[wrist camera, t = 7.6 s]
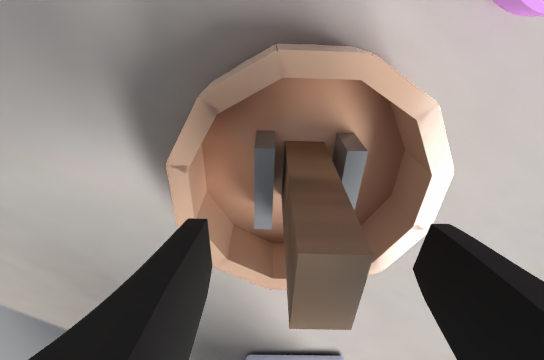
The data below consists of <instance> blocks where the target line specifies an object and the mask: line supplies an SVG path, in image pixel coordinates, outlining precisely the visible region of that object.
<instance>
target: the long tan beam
mask: <svg viewBox="0 0 544 360" xmlns="http://www.w3.org/2000/svg"><path fill="white" fill-rule="evenodd" d="M281 198H282V215H283V231H284V247H285V263H286V280H287V296H288V312H289V328H290V329H334V330H351V328H352V325H353V322H354V319H355V315H356V312H357V309H358V306H359V302H360V299H361V296H362V293H363V289H364V286H365V283H366V280H367V276H368V273H369V270H370V267H371V263H372V260H373V257H374V254H373V252H372V250H371V247H370V245H369V243H368V241H367V238H366V236H365V234H364V231H363V229H362V227H361V225H360V222H359V220H358V218H357V216H356V213H355V211H354V209H353V206H352V204H351V202H350V200H349V197H348V195H347V193H346V191H345V188H344V186H343V184H342V181H341V179H340V177H339V175H338V172H337V170H336V168H335V166H334V163H333V161H332V159H331V156H330V154H329V152H328V150H327V147H326V145H325V143H324V142H313V141H285V145H284V161H283V177H282V193H281Z"/></svg>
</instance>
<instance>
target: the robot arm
mask: <svg viewBox="0 0 544 360" xmlns="http://www.w3.org/2000/svg"><path fill="white" fill-rule="evenodd" d="M211 270H212V257H211V248H210V238H209V229H208V220H207V219H194V218H188V219H187V220H186V221H185V222H184V223H183V224H182V225H181V226H180V227H179V228H178V229H177V230H176V231H175V233H174V234H173V235H172V236H171V237H170V238H169V239H168V240H167V241H166V242H165V243H164V244H163V245H162V246H161V247H160V248H159V249H158V250H157V251H156V252H155V253H154V254H153V255H152V256H151V257H150V258H149V259H148V260H147V261H146V262H145V263H144V264H143V265H142V266H141V267H140V268H139V269H138V270H137V271H136V272H135V273H134V274H133V275H132V276H131V277H130V278H129V279H128V280H127V281H125V282H124V283H123V284H122V285H121V286H120V287H119V288H118V289H117V290H116V291H115V292H114V293H112V294H111V295H110V296H109V297H108V298H107V299H106V300H104V301H103V302H102V303H101V304H100V305H99V306H97V307H96V308H95V309H94V310H93V311H91V312H90V313H89V314H88V315H87V316H85V317H84V318H83V319H82V320H80V321H79V322H78V323H77V324H75V325H74V326H73V327H72V328H70V329H69V330H68V331H67V332H66V333H64V334H63V335H61V336H60V337H59V338H57V339H56V340H55V341H54V342H52V343H51V344H49V345H48V346H46V347H45V348H44V349H43V350H41V351H40V352H38V353H37V354H35V355H34V356H33V357H31V358H30V359H29V360H189V357H190V353H191V350H192V346H193V343H194V340H195V336H196V333H197V329H198V326H199V322H200V319H201V315H202V312H203V308H204V305H205V301H206V298H207V294H208V288H209V282H210V276H211ZM413 271H414V274H415V276H416V279H417V282H418V285H419V287H420V290H421V292H422V294H423V297H424V299H425V301H426V303H427V305H428V307H429V309H430V311H431V313H432V314H433V316H434V318H435V320H436V322H437V324H438V326H439V327H440V329H441V331H442V333H443V335H444V337H445V338H446V340H447V342H448V344H449V346H450V348H451V349H452V351H453V353H454V355H455V357H456V359H457V360H544V282H543V281H542V280H540V279H538V278H537V277H535V276H534V275H532V274H530V273H529V272H527V271H525V270H524V269H522V268H521V267H519V266H517V265H516V264H514V263H513V262H511V261H509V260H508V259H506V258H505V257H503V256H502V255H500V254H498V253H497V252H495V251H494V250H492V249H490V248H489V247H487V246H486V245H484V244H483V243H481V242H479V241H478V240H476V239H474V238H473V237H471V236H470V235H468V234H466V233H465V232H463V231H461V230H459V229H458V228H456V227H454V226H452V225H450V224H431V225H430V227H429V230H428V232H427V235H426V237H425V240H424V242H423V245H422V247H421V250H420V252H419V255H418V257H417V259H416V262H415V264H414V267H413ZM246 360H344V358H343V357H342V356H323V355H248V356H247V357H246Z"/></svg>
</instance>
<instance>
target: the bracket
mask: <svg viewBox="0 0 544 360" xmlns="http://www.w3.org/2000/svg"><path fill="white" fill-rule="evenodd" d="M494 2H495V3H496V4H497V5H498V6H500V7H501V8H502V9H504V10H505V11H507V12H510V13H512V14H515V15H519V16H544V0H494Z"/></svg>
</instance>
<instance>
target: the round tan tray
mask: <svg viewBox="0 0 544 360" xmlns="http://www.w3.org/2000/svg"><path fill="white" fill-rule="evenodd" d="M285 141H313V142H324V143H325V145H326V147H327V150H328V152H329V154H330V156H331V159H332V161H333V163H334V166H335V168H336V170H337V172H338V175H339V177H340V179H341V181H342V184H343V186H344V188H345V191H346V193H347V195H348V197H349V200H350V202H351V204H352V206H353V209H354V211H355V213H356V216H357V218H358V220H359V222H360V225H361V227H362V229H363V231H364V234H365V236H366V238H367V241H368V243H369V245H370V247H371V250H372V252H373V254H374V257H373V260H372V263H371V267H370V270H369V273H368V276H370V275H373V274H376V273H379V272H381V271H382V270H385V269H386V268H387V267H388V266H389V265H391V264H392V263H393V262H394V261H395V260H396V259H398V258H399V257H400V256H401V255H402V254H403V253H405V252H406V251H407V250H408V249H409V248H411V247H412V246H413V245H414V244H415V243H416V242H418V241H419V240H420V239H421V238H422V237H424V236H425V235H426V234H427V232H428V230H429V227H430V225H431V224H433V223H434V220H435V218H436V215H437V213H438V211H439V208H440V206H441V203H442V201H443V199H444V196H445V194H446V191H447V189H448V187H449V184H450V182H451V179H452V177H453V175H454V166H453V162H452V158H451V153H450V149H449V144H448V140H447V135H446V131H445V127H444V122H443V118H442V113H441V109H440V104H439V103H438V102H436V101H435V100H434V99H433V98H431V97H430V96H429V95H427V94H426V93H425V92H423V91H422V90H421V89H420V88H418V87H417V86H416V85H414V84H413V83H412V82H410V81H409V80H408V79H407V78H405V77H404V76H403V75H401V74H400V73H399V72H397V71H396V70H395V69H394V68H392V67H391V66H390V65H388V64H387V63H386V62H385V61H383V60H382V59H381V58H379V57H378V56H377V55H375V54H374V53H371V52H368V51H365V50H362V49H359V48H356V47H353V46H333V45H318V44H274V45H272V46H271V47H269V48H267V49H266V50H264V51H262V52H261V53H259V54H257V55H256V56H254V57H252V58H250V59H248V60H246V61H244V62H242V63H241V64H240V65H238V66H237V67H235V68H234V69H232V70H230V71H229V72H227V73H225V74H224V75H222V76H220V77H219V78H217V79H215V80H214V81H212V82H211V83H210V84H209V85H208V86H207V87H206V88H205V90H204V91H203V92H202V93H201V94H200V95H199V96H198V97H197V99H196V101H195V103H194V105H193V107H192V110H191V112H190V114H189V116H188V118H187V120H186V122H185V124H184V126H183V128H182V131H181V133H180V135H179V137H178V139H177V141H176V143H175V145H174V147H173V150H172V152H171V154H170V156H169V158H168V160H167V162H166V170H167V175H168V181H169V186H170V192H171V197H172V202H173V208H174V213H175V219H176V224H177V226H178V227H180V226H181V225H182V224H183V223H184V222H185V221H186V220H187V219H188V218H194V219H207V220H208V229H209V238H210V248H211V257H212V265H213V266H214V267H215V268H217V269H219V270H222V271H224V272H227V273H229V274H232V275H234V276H237V277H239V278H242V279H244V280H246V281H249V282H251V283H254V284H256V285H259V286H261V287H264V288H266V289H268V288H269V289H278V290H287V280H286V263H285V247H284V231H283V215H282V198H281V193H282V177H283V161H284V145H285Z"/></svg>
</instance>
